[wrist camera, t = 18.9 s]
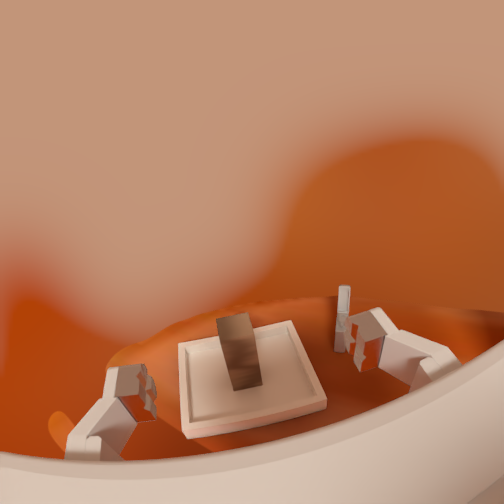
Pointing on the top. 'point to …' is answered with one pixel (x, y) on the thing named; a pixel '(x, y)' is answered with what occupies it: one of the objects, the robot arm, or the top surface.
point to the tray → (252, 399)
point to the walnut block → (239, 351)
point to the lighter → (341, 317)
